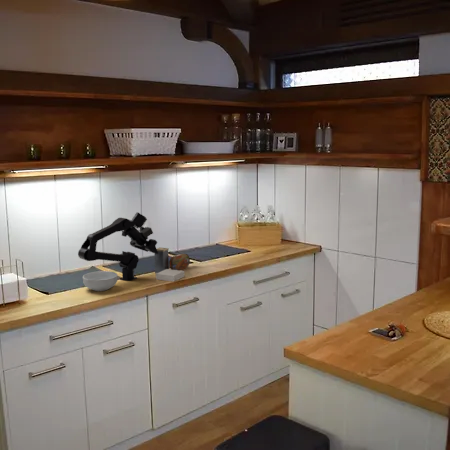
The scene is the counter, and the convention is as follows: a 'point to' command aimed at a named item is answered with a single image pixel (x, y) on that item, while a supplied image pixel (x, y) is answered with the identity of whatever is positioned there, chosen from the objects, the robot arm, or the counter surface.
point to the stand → (169, 275)
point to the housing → (161, 260)
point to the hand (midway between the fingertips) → (152, 252)
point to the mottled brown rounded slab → (179, 262)
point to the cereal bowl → (100, 280)
